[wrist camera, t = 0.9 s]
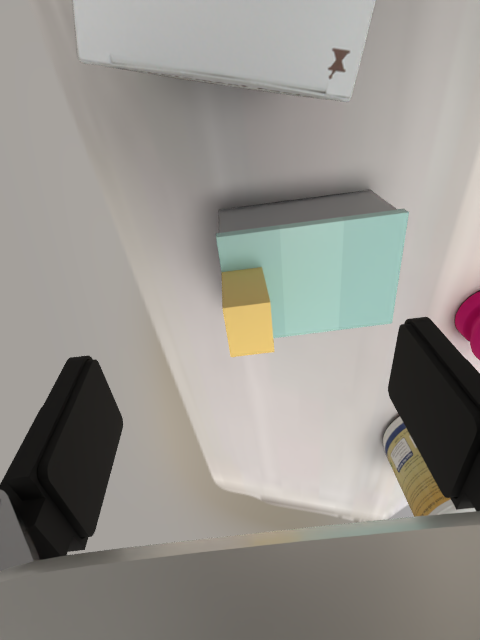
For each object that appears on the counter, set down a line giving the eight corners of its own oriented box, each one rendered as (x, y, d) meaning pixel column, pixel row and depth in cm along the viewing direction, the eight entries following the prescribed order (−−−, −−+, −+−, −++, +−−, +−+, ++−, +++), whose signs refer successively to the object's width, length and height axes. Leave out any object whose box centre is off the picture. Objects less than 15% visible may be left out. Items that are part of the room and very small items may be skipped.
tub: (370, 189, 30) (400, 212, 25) (362, 282, 35) (386, 316, 30) (218, 210, 31) (219, 235, 26) (232, 299, 36) (234, 335, 31)
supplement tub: (373, 459, 52) (430, 599, 38) (388, 402, 45) (465, 547, 31) (455, 453, 53) (543, 590, 38) (483, 395, 46) (601, 535, 32)
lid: (397, 204, 26) (447, 239, 20) (383, 311, 31) (420, 362, 26) (215, 228, 26) (216, 269, 21) (232, 330, 32) (235, 385, 26)
